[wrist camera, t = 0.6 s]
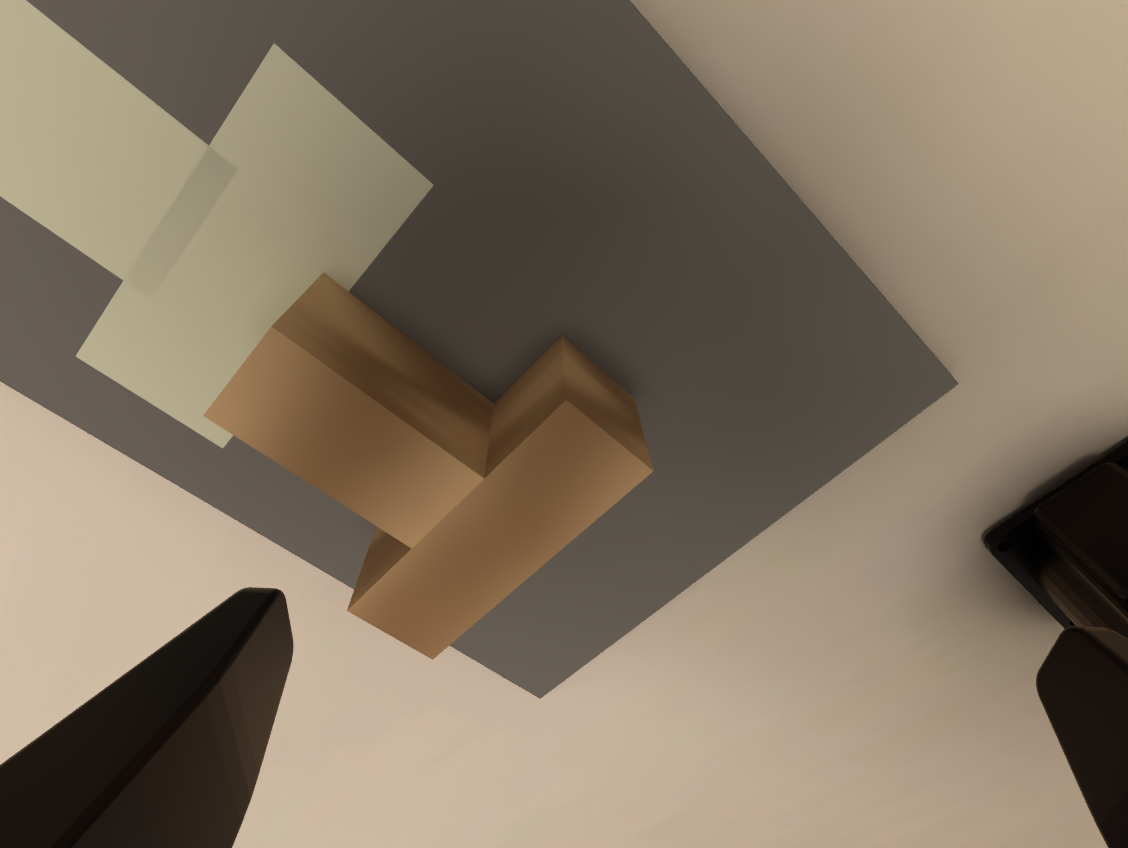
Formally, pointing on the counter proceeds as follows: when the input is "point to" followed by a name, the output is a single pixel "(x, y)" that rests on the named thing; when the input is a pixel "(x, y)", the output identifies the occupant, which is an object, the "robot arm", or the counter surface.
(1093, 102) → the counter surface
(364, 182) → the mat
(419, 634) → the t block
